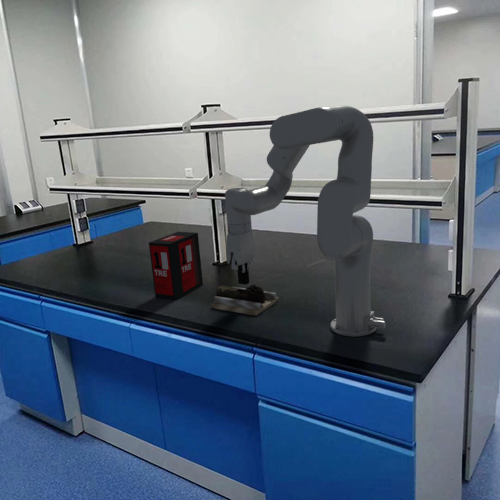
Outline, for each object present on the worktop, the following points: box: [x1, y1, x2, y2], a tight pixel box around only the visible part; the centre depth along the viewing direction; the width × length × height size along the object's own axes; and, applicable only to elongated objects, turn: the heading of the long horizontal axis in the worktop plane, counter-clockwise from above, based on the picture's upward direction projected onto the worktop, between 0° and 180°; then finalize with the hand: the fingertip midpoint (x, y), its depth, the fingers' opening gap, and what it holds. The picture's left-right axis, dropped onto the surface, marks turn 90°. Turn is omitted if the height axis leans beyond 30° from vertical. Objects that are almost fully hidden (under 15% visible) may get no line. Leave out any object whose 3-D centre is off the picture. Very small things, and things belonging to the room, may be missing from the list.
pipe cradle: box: [211, 286, 280, 317], centre depth 165 cm, size 17×14×3 cm
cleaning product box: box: [148, 231, 204, 301], centre depth 180 cm, size 16×9×20 cm, turn 151°
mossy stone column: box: [215, 284, 266, 304], centre depth 164 cm, size 18×7×6 cm, turn 54°
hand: (243, 283), depth 163 cm, fingers closed
